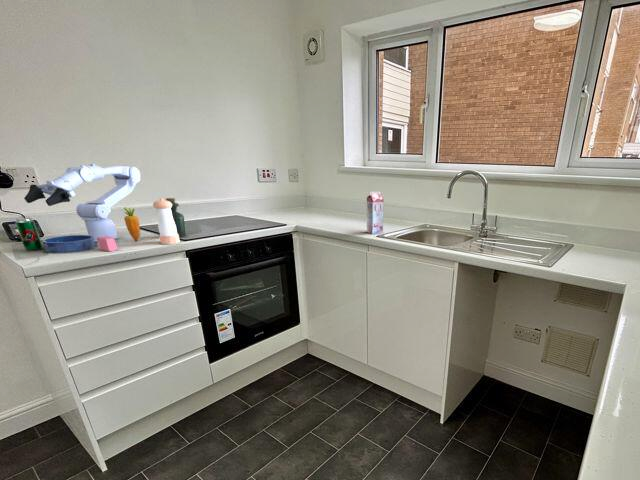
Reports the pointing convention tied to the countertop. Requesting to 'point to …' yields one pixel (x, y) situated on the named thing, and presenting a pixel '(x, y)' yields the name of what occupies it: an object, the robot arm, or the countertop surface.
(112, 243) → the eraser
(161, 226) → the pepper shaker
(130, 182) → the robot arm
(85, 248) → the bowl
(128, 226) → the carrot
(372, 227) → the juice carton
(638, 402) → the countertop surface
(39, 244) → the soda can
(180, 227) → the green spray bottle
